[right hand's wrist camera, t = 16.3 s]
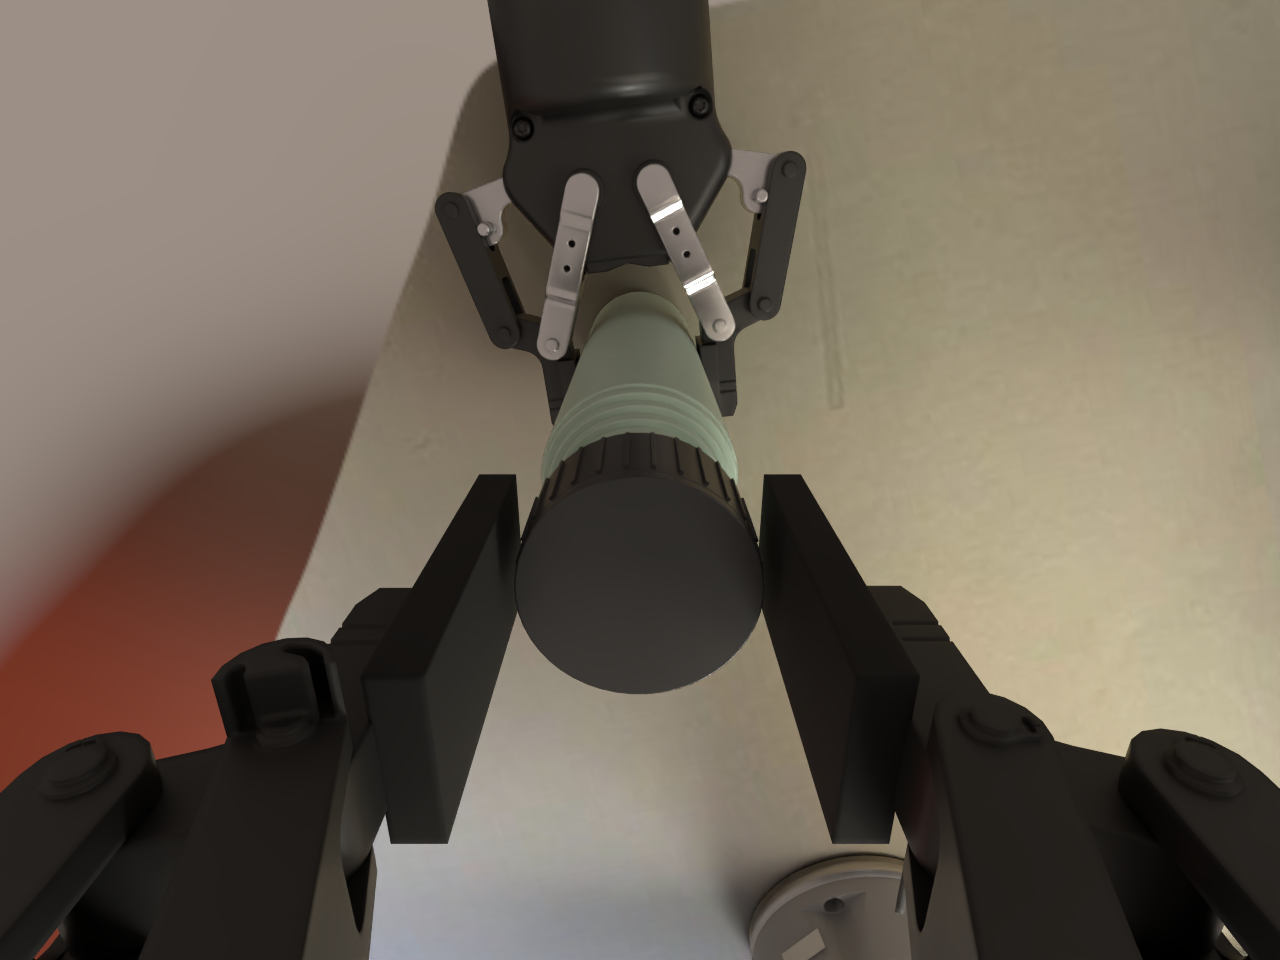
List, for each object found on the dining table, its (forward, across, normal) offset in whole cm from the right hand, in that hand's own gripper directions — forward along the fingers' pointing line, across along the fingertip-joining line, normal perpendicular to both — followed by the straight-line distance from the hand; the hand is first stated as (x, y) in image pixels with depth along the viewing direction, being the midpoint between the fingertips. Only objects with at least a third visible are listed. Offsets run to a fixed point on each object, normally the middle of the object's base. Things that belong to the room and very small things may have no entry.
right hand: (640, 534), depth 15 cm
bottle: (+22, 0, 0) cm, 22 cm away
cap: (-2, 0, 0) cm, 2 cm away
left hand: (+15, 0, -3) cm, 15 cm away
